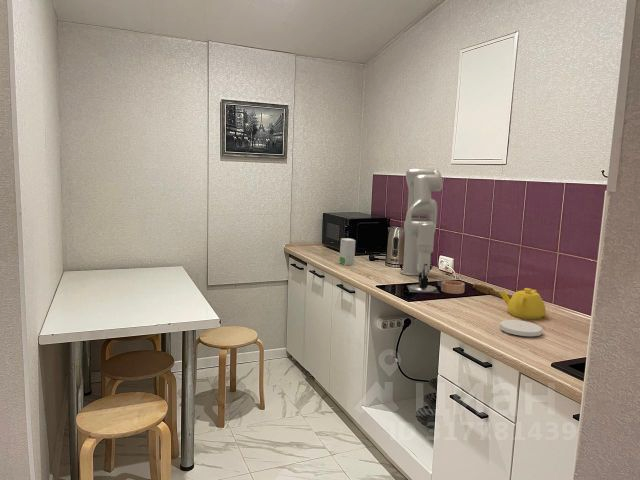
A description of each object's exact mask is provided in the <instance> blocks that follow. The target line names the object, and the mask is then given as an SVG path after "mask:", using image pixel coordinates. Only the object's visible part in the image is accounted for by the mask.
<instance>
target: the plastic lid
mask: <svg viewBox="0 0 640 480" xmlns="http://www.w3.org/2000/svg"><path fill="white" fill-rule="evenodd" d="M499 329H500V330H502V331H503V332H505V333H508V334H511V335H516V336H521V337H538V336H541V335H542V334H543V327H542V326H541V325H538V324H536V323H534V322H530V321H525V320H520V319H519V320H518V319H517V320H516V319H515V320H514V319H508V320H507V319H505V320H502V321H500V323H499Z"/></svg>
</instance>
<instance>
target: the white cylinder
mask: <svg viewBox="0 0 640 480" xmlns="http://www.w3.org/2000/svg"><path fill="white" fill-rule="evenodd" d="M356 241H357V240H355V239H354V238H349V237H347V238H344V237H343V238H340V245H339V246H340V247H339V260H338V261H339V262H340V263H339V264H341V263H342V264H341V265H343V264H344V265H343V266H345V265H346V266H354V265H355V254H356V244H357V243H356ZM353 264H354V265H353Z"/></svg>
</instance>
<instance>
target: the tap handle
mask: <svg viewBox="0 0 640 480" xmlns="http://www.w3.org/2000/svg"><path fill="white" fill-rule="evenodd" d="M472 289H473V290H476V292H479V291H480V292H479V293H482V292H483V293H482V294H485V293H486V295H491V296H495V297H496V298H497V297H498V298H500V299H502V300H504V299H503V298H502V296H501V295H500V292H501V291H497V290H495V289H494V288H493V287H490V286H487V285H484V284H477V283H474V284H473V285H472ZM506 294H507V293H506ZM507 295H508V297H509V298H510V299H511V298H512V296H513V295H512V294H507Z"/></svg>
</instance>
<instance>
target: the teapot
mask: <svg viewBox="0 0 640 480" xmlns="http://www.w3.org/2000/svg"><path fill="white" fill-rule="evenodd" d="M499 292H500V295H501V296H502V298H503V299H502V298H501V299H502V300H503V301H504V303H505V304H506V306H507V311H508V313H509V314H510V315H511V316H514V317H515V318H519V319H524V320H540V319H541V318H543V317H544V316H546V312H547V311H546V305H545V302H544V300H543V298H542V297H541V295H540V294H539V293H538V292H537V289H532V288H530V287H529V288H528V287H525V288H523V290H517V291H516V292H515V293H513V295H512V298H511V299H510V298H509V297H508V295H507V292H506V291H505V290H502V291H499Z"/></svg>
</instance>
